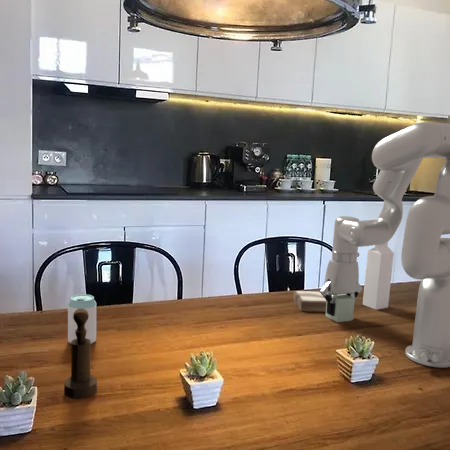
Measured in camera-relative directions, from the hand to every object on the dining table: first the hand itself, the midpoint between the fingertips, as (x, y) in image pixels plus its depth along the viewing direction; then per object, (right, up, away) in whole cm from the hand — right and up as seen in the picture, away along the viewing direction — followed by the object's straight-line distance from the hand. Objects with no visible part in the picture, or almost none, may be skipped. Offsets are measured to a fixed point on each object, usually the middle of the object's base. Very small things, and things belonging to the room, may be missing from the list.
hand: (339, 312), depth 165 cm
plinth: (-6, +1, +11) cm, 13 cm away
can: (-72, -3, -28) cm, 78 cm away
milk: (+15, 0, +14) cm, 21 cm away
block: (0, -2, 0) cm, 2 cm away
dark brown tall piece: (-66, -8, -54) cm, 85 cm away
